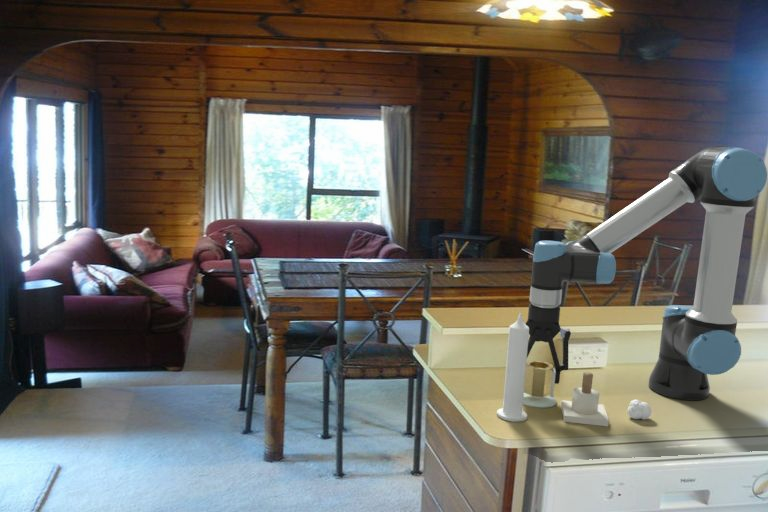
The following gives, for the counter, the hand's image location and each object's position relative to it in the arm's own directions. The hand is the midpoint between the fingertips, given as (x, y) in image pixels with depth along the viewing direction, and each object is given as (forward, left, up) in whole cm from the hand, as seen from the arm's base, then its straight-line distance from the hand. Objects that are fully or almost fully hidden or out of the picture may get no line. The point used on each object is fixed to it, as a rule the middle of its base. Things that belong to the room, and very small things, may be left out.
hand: (536, 393), depth 185 cm
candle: (+6, +12, -2) cm, 14 cm away
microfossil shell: (-24, +4, -2) cm, 24 cm away
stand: (-11, +7, -2) cm, 13 cm away
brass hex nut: (0, 0, +1) cm, 1 cm away
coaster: (0, 0, -2) cm, 2 cm away
